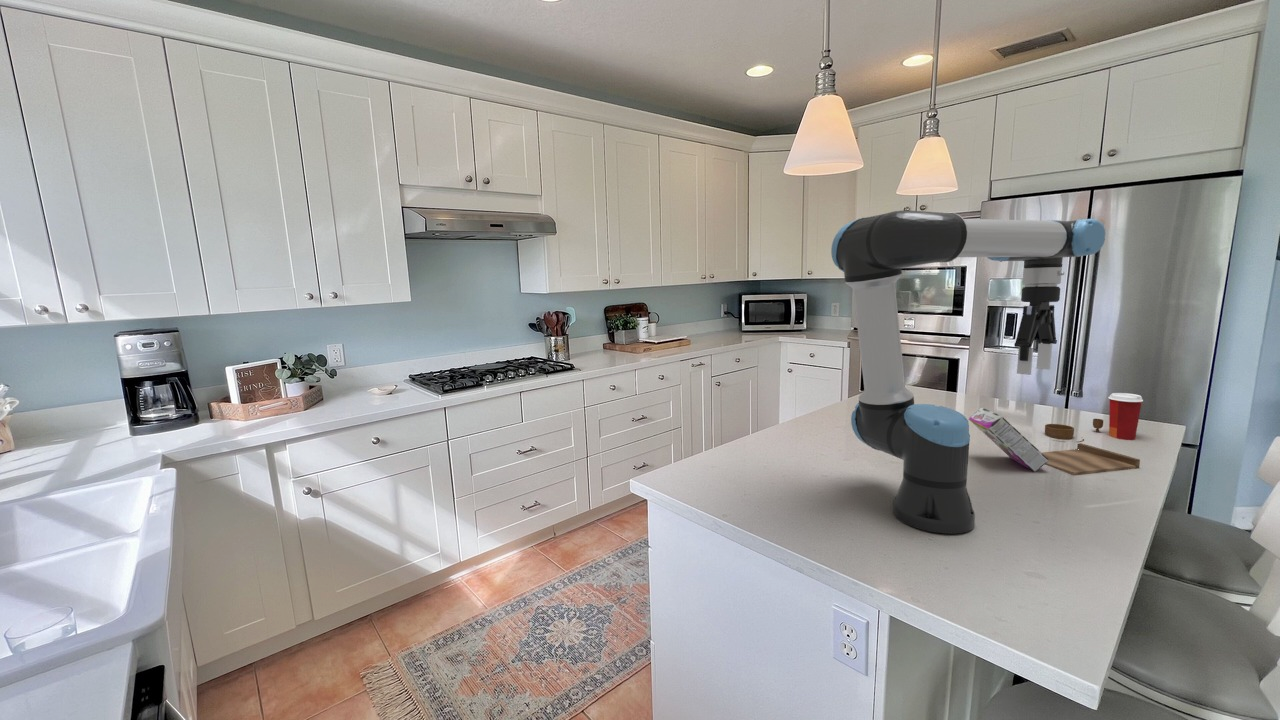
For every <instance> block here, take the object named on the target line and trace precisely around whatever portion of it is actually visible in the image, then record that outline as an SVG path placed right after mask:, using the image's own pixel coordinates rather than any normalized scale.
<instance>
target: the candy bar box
mask: <svg viewBox="0 0 1280 720" xmlns="http://www.w3.org/2000/svg"><path fill="white" fill-rule="evenodd" d="M968 421H970V422H971V423H972V424H973V425H974V426H975V427H976V428H977V429H979V430H980V431H981V432H982V433H983V434H984V435H985V436H986V437H987V438H988V439H989V440H991V442H992V443H994V444H995V445H996V446H997V447H998V448H999V449H1000V450H1001V451H1003V452H1004V453H1005V454H1006V455H1007V456H1008V458H1009V459H1012V460H1013V461H1014V462H1016V463H1018V464H1020V465H1022V466H1023V467H1025V468H1026V469H1029V470H1030V471H1032V472H1034V473H1036V472H1037V471H1038V470H1040V469H1042V468H1043V466H1044V465H1045V464H1046V463H1047V462H1048V461H1049V459H1048V458H1047V457H1045V456H1044V455H1043V454H1042V451H1040V450H1039V449H1038V448H1037V447H1036V446H1034V444H1033V443H1032V442H1031V441H1030V440H1028V439H1027V438H1026V436H1024V435H1023V434H1022V433H1021V432H1019V431H1018V429H1016V427H1014V425H1012V424H1011V423H1010V422H1009V421H1007V420H1006V418H1005V417H1004V416H1002V415H1000V414H998V413H995V412H993V411H991V410H989V409H986V408H984V407H980V408H979V409H978V410H977V411H975V412H974V413H973V414H972V415H971V416H970V417H968Z"/></svg>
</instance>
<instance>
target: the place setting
mask: <svg viewBox="0 0 1280 720" xmlns="http://www.w3.org/2000/svg"><path fill="white" fill-rule="evenodd" d="M1103 426H1104V419H1102V418H1093V419H1092V427H1093V428H1095V433H1097V434H1098V433H1100V429H1102V428H1103ZM1044 434H1045V436H1047V437H1049V438H1051V439H1052V438H1053V439H1057V440H1058V442H1059V443H1065V441H1063V440H1071V439H1072V438H1073V437H1074V434H1075V427H1073V426H1071V425H1067V424H1061V423H1060V424H1059V423H1047V424H1045V425H1044ZM1053 439H1052V441H1054V442H1055V441H1056V440H1053ZM1084 441H1085V438H1084V439H1082V440H1078V441H1077V443H1082V442H1084Z"/></svg>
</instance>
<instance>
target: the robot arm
mask: <svg viewBox="0 0 1280 720" xmlns="http://www.w3.org/2000/svg"><path fill="white" fill-rule="evenodd" d="M1105 241H1106V229H1105V226H1104V224H1103V223H1102V222H1101V221H1100V220H1098V219H1095V218H1084V219H1083V218H1080V219H1079V218H1078V219H1077V220H1061V219H1054V220H1053V219H1051V220H1050V219H1048V220H1031V219H1027V220H1025V219H1024V220H1023V219H986V218H982V219H981V218H980V219H979V218H978V219H977V218H963V216H961V215H960V214H958V213H953V212H937V211H924V210H922V211H921V210H906V209H905V210H895V211H891V212H885V213H881V214H878V215H873V216H867V217H861V218H857V219H855V220H852V221H850V222H848V223H845V224H844V225H843V226H842V227H841V228H840V229H839V230H838V232H837V233H836V234H835V236H834V237H833V241H832V242H831V251H830V252H831V258H832V262H833V264H834V266H836V267H837V268H838V270H840V271H842V272H843V276H844V283H845V284H846V285H847V286H849V287H850V288H851V289H852V290H853V291H852V292H853V299H854V308H855V317H856V324H857V325H856V327H857V335H858V342H859V343H858V344H859V345H858V346H859V351H860V352H859V354H860V355H859V356H860V362H861V363H860V364H861V372H862V379H863V388H864V389H863V391H862V392H861V393H860V394H859V396H858V402H857V403H856V404H855V407H854V409H853V411H851V415H850V416H851V418H850V423H851V428H852V431H853V433H854V435H855V436H856V438H857V439H858V440H859V441H861V442H862V443H864V444H865V445H867V446H868V447H870V448H871V449H874V450H877V451H881V452H883V453H886V454H887V455H890V456H892V457H895V458H898V459H901V460H903V462H902V463H903V465H902V466H903V469H902V470H903V472H902V480H901V483H900V485H899V487H898V490H897V494H896V496H895V498H894V499H893V503H892V514H893V516H894V518H896V519H897V520H899V521H900V522H901V523H904V524H905V525H908V526H911V527H912V528H916V529H919V530H923V531H925V532H932V533H938V534H963V533H966V532H969V531H972V530H973V529H974V528H975V525H976V524H975V523H976V522H975V521H976V515H975V514H976V513H975V510H974V509H973V505H972V501H971V498H970V495H969V491H968V488H967V481H968V480H967V479H968V478H967V477H968V467H969V465H968V464H969V453H970V451H969V450H970V440H971V439H970V437H971V435H970V425H969V419H968V418H967V417H966V416H965V415H964V414H963V413H961V412H960V411H958V410H955V409H954V408H953V409H952V408H949V407H946V406H942V405H935V404H930V403H916V404H915V398H914V393H913V392H912V391H911V390H909V389H908V388H907V387H906V383H905V382H906V380H905V373H904V372H905V370H904V362H903V361H904V360H903V352H902V343H901V340H902V339H901V331H900V322H899V321H900V319H899V313H898V312H899V309H898V301H897V291H896V283H897V281H898V280H899V279H900V278H901V277H902V276H903V273H902V271H903V270H902V269H905V268H911V267H915V266H920V265H927V264H934V263H936V264H937V263H949V262H952V261H955V260H957V258H987V259H988V260H991V261H995V262H996V261H997V262H1023V271H1022V280H1021V284H1022V285H1023V287H1022V288H1021V296H1020V301H1021V302H1022V303H1029V305H1023V310H1022V316H1021V320H1020V323H1019V324H1020V325H1019V327H1018V331H1017V335H1016V339H1015V342H1014V344H1013V345H1014V348H1018V354H1017V365H1016V367H1017V368H1016V374H1018V375H1027V376H1028V375H1029V376H1031V375H1032V367H1033V357H1034V356H1033V355H1034V347H1033V343H1034V341H1035V338H1036V335H1037V334H1038V338H1039V343H1038V345H1037V347H1038V348H1037V359H1036V370H1049V371H1050V370H1051V365H1052V353H1053V352H1052V351H1053V345H1057V342H1058V340H1057V336H1056V335H1057V334H1056V321H1055V305H1054V304H1050V303H1057V302H1059V301H1060V298H1061V297H1060V295H1061V287H1060V286H1058V285H1060V284H1061V283H1062V276H1064V275H1065V271H1064V270H1063V259H1064V258H1075V257H1076V258H1080V257H1084V256H1090V255H1091V256H1092V255H1095V254H1097V253H1098V252H1100V250H1101V249H1102V248H1103V246H1104V244H1105Z"/></svg>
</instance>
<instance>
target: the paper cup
mask: <svg viewBox="0 0 1280 720" xmlns="http://www.w3.org/2000/svg"><path fill="white" fill-rule="evenodd" d="M1107 398H1108V399H1109V411H1108V412H1109V413H1108V414H1109V417H1108V419H1109V421H1108V424H1109V425H1108V426H1109V427H1108V428H1109V429H1108V432H1109V437H1111V438H1113V439H1117V440H1124V441H1135V440H1136V436H1137V435H1136V434H1137V432H1138V425H1139V420H1140V414H1141V410H1142V409H1141V408H1142V402H1144V399H1143V397H1142V395H1140V394H1137V393H1136V394H1134V393H1127V392H1113V393H1111V394H1109V396H1108V397H1107Z"/></svg>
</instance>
